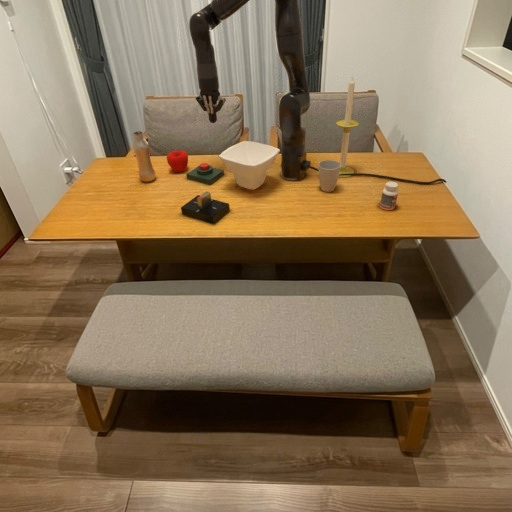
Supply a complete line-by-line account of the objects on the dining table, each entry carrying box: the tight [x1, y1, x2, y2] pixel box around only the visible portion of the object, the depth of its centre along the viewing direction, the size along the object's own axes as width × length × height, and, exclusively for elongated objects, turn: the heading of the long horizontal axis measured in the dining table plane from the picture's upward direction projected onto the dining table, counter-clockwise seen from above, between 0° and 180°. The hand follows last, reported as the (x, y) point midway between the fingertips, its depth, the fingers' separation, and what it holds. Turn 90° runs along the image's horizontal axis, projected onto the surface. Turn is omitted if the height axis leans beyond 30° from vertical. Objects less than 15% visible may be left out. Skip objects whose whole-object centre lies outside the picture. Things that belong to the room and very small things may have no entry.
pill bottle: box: [379, 181, 399, 211], centre depth 135 cm, size 5×5×9 cm
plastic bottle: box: [132, 130, 156, 183], centre depth 155 cm, size 6×7×20 cm
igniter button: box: [199, 162, 210, 170], centre depth 159 cm, size 4×4×2 cm
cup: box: [317, 159, 341, 193], centre depth 147 cm, size 8×8×10 cm
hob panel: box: [180, 194, 231, 225], centre depth 138 cm, size 14×10×3 cm
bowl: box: [218, 140, 281, 191], centre depth 150 cm, size 19×19×14 cm
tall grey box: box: [197, 191, 212, 210], centre depth 136 cm, size 6×2×4 cm, turn 149°
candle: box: [335, 75, 360, 178], centre depth 149 cm, size 10×10×38 cm
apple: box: [166, 150, 189, 173], centre depth 165 cm, size 9×9×8 cm
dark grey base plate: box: [185, 164, 225, 186], centre depth 160 cm, size 12×10×4 cm
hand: (213, 122), depth 153 cm, fingers closed
